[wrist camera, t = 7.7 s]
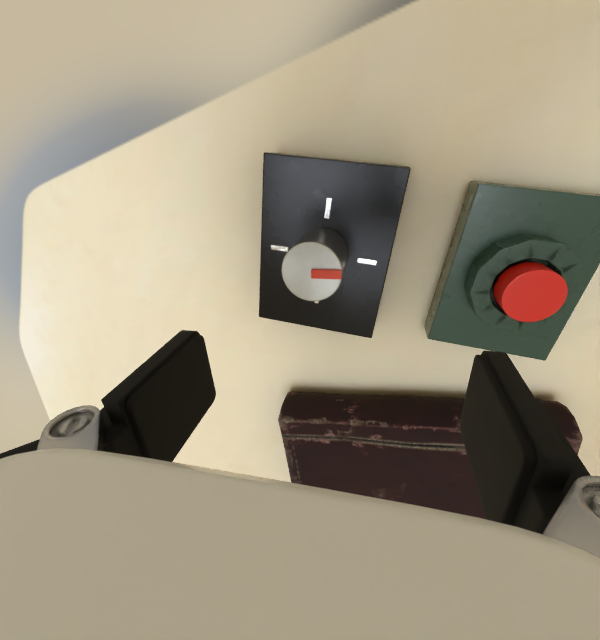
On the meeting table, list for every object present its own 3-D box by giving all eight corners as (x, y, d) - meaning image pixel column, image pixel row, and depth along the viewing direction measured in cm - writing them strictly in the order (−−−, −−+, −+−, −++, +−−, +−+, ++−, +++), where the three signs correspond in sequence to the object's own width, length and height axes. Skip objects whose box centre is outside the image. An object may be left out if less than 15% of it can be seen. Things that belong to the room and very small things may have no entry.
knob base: (275, 153, 24) (262, 152, 22) (407, 166, 23) (411, 167, 20) (269, 303, 31) (258, 317, 28) (372, 322, 29) (371, 339, 26)
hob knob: (298, 278, 25) (282, 302, 21) (295, 227, 24) (277, 242, 19) (348, 280, 25) (341, 305, 20) (349, 227, 23) (342, 243, 19)
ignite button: (505, 257, 21) (514, 265, 19) (565, 266, 20) (580, 274, 19) (485, 306, 23) (492, 317, 21) (540, 315, 22) (551, 326, 20)
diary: (288, 384, 35) (275, 416, 30) (556, 391, 28) (588, 434, 24) (310, 495, 42) (302, 534, 38) (523, 522, 36) (542, 572, 32)
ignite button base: (470, 180, 22) (486, 185, 19) (612, 196, 21) (658, 203, 18) (424, 326, 28) (430, 350, 25) (533, 346, 27) (556, 374, 23)
